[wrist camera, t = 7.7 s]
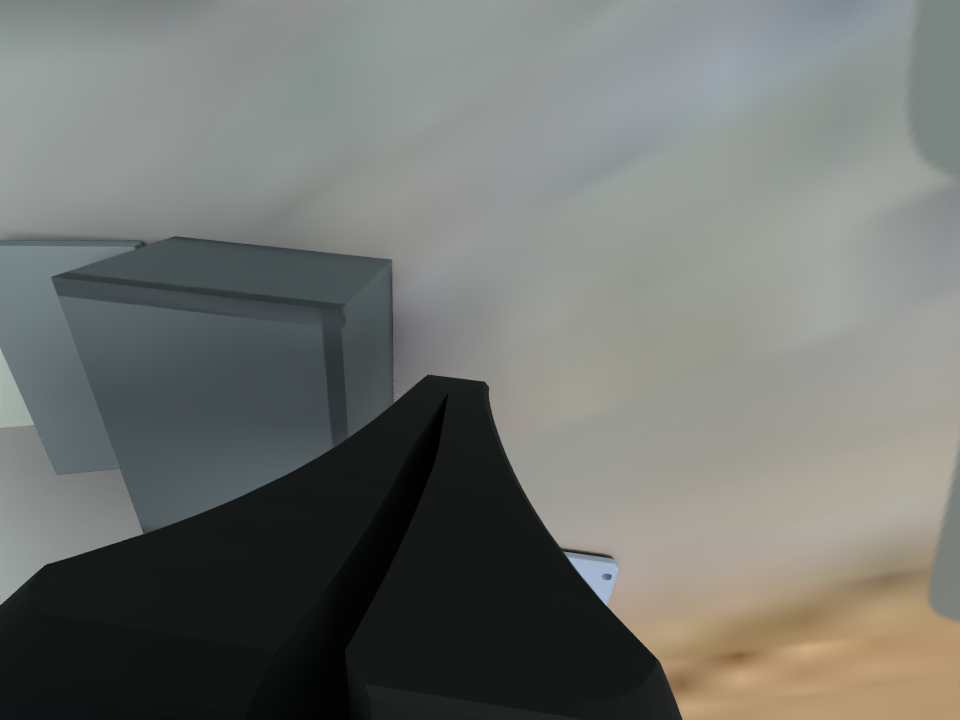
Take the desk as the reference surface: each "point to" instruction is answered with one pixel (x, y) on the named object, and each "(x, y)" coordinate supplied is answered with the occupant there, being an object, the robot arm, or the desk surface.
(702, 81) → the desk surface
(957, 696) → the desk surface
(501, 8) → the desk surface
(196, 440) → the carton
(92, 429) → the carton flap
